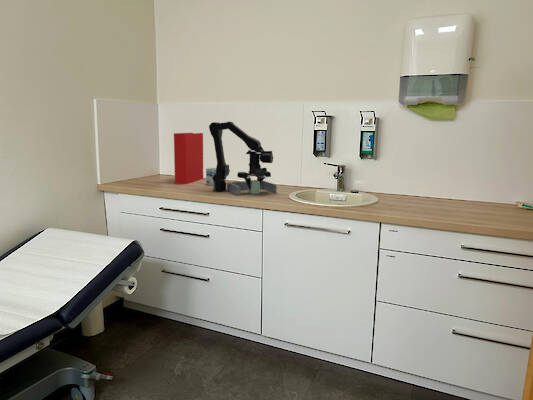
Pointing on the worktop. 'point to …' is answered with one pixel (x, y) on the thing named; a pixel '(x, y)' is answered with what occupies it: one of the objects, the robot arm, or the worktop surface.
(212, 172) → the light bulb box
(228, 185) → the open-front crate
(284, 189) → the worktop surface
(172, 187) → the worktop surface
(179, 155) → the book
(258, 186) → the sage block
